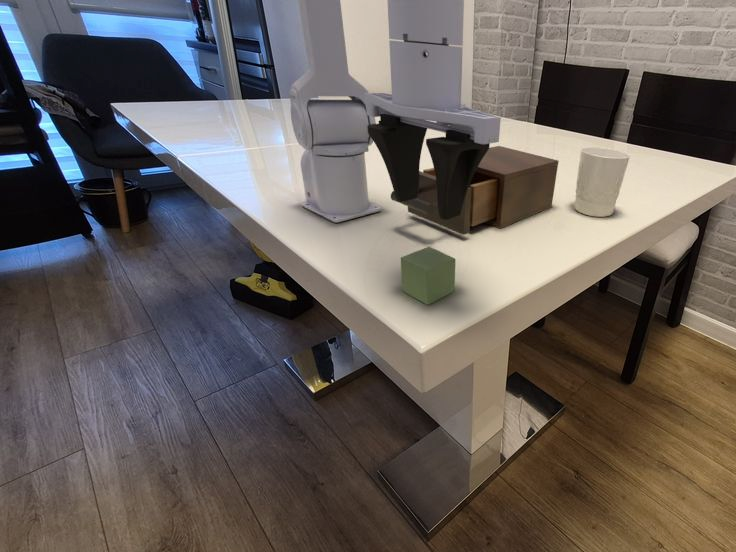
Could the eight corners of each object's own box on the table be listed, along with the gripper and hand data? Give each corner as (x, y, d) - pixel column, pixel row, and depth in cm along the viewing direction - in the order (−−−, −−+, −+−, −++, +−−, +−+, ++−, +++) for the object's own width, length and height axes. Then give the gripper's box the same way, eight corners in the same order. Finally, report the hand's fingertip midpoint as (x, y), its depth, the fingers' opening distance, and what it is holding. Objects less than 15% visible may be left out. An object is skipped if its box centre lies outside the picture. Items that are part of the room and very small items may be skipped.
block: (401, 290, 43) (400, 257, 41) (429, 278, 46) (429, 246, 44) (427, 305, 41) (427, 271, 39) (454, 291, 44) (455, 258, 42)
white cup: (624, 213, 71) (639, 155, 66) (599, 222, 66) (612, 160, 61) (588, 200, 76) (598, 145, 71) (561, 207, 71) (571, 149, 66)
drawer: (438, 244, 51) (438, 197, 48) (382, 219, 57) (379, 175, 54) (521, 212, 64) (525, 173, 61) (468, 194, 70) (469, 157, 67)
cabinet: (500, 228, 60) (504, 174, 56) (440, 206, 67) (440, 156, 62) (551, 207, 70) (558, 160, 66) (495, 189, 77) (499, 145, 73)
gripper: (530, 53, 31) (512, 219, 38) (405, 41, 38) (409, 182, 45) (468, 47, 26) (461, 239, 33) (338, 35, 33) (354, 194, 40)
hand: (427, 207), depth 39 cm, fingers open, 5 cm apart
